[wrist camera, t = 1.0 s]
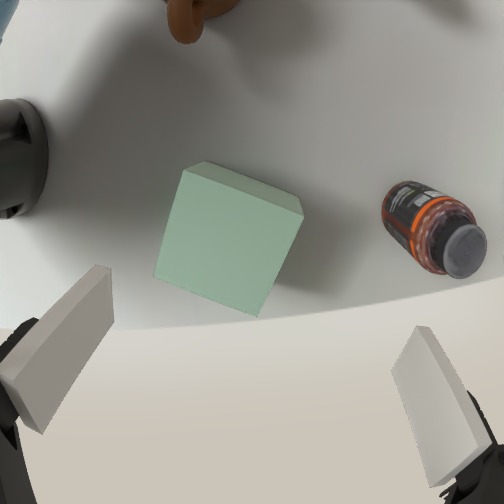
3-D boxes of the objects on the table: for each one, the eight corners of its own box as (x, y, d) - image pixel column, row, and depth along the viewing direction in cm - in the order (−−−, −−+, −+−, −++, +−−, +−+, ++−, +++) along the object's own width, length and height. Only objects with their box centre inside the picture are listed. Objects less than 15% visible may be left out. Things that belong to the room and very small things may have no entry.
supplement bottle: (415, 246, 28) (468, 303, 18) (369, 223, 28) (414, 277, 18) (440, 196, 26) (508, 233, 16) (395, 168, 26) (458, 195, 15)
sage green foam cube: (176, 247, 30) (153, 276, 24) (204, 160, 27) (183, 170, 21) (261, 280, 31) (256, 316, 25) (298, 197, 28) (304, 216, 22)
